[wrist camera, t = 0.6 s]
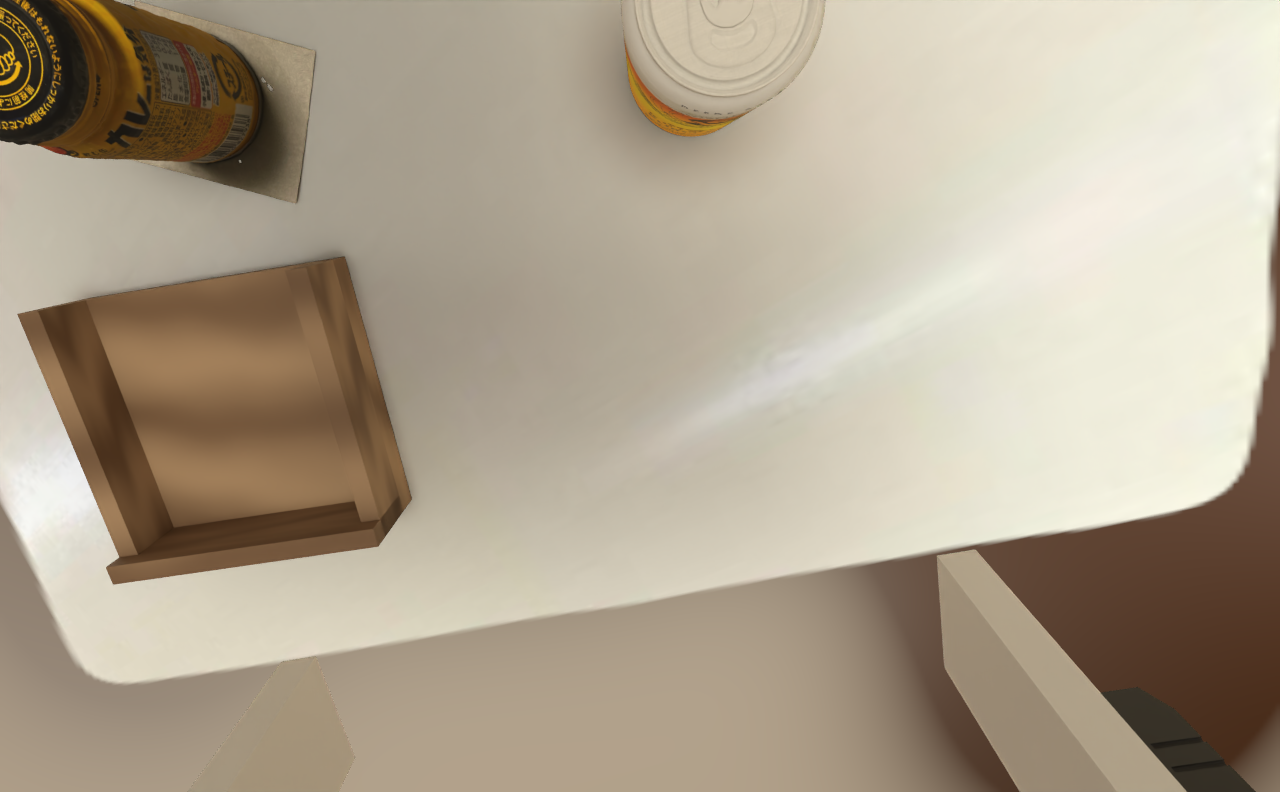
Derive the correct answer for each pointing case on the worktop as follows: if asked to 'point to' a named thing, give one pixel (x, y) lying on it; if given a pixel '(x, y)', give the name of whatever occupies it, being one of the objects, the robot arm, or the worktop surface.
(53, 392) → the wooden serving tray
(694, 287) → the worktop surface
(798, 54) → the beer can
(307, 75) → the condiment
